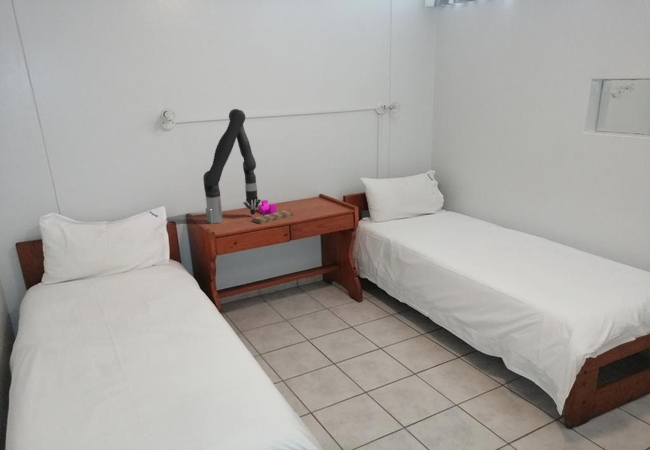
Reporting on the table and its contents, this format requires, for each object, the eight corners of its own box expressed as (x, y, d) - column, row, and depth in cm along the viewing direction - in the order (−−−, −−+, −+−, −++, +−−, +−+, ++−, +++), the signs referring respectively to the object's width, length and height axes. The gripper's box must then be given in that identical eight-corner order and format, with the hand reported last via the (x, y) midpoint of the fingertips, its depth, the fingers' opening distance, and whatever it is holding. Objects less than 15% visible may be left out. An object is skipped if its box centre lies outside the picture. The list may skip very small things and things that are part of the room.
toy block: (258, 211, 327) (258, 201, 325) (266, 210, 330) (266, 199, 328) (267, 216, 315) (267, 205, 313) (276, 215, 318) (275, 204, 316)
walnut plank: (260, 224, 299) (260, 220, 298) (252, 221, 305) (252, 217, 304) (292, 215, 315) (292, 212, 314) (284, 213, 321) (284, 210, 321)
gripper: (245, 192, 302) (247, 217, 308) (262, 188, 311) (264, 213, 316) (239, 190, 308) (241, 215, 313) (256, 186, 316) (258, 211, 321)
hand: (252, 214), depth 314 cm, fingers closed
